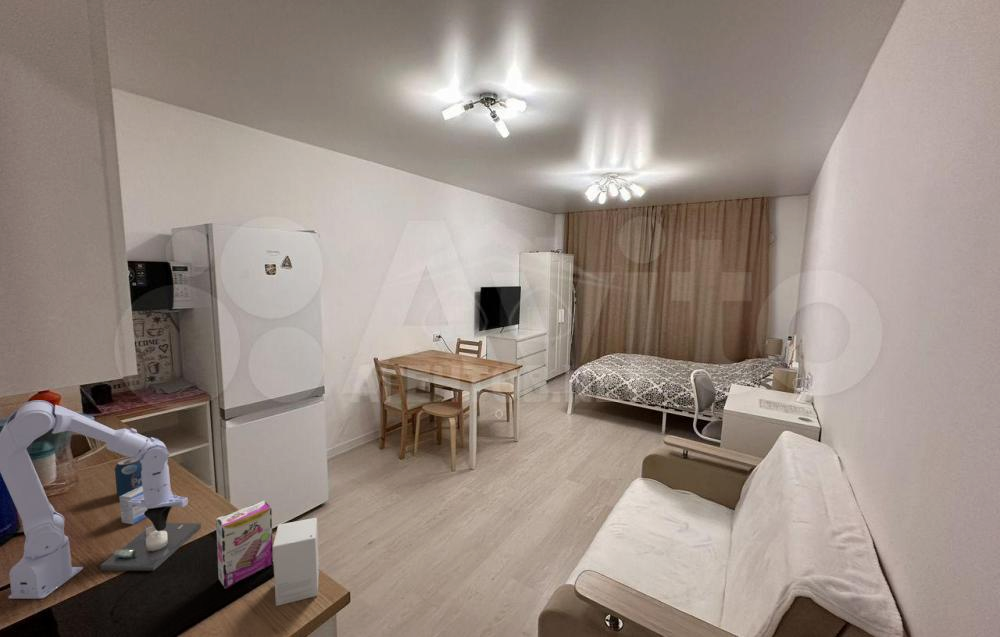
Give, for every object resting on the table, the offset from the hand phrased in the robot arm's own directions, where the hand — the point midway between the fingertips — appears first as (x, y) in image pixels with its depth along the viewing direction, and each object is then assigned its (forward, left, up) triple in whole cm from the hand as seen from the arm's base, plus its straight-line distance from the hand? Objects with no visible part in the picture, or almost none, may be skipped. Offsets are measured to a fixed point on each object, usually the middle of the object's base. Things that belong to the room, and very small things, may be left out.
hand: (161, 530), depth 113 cm
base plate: (-3, 0, -3) cm, 4 cm away
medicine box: (+11, +15, -4) cm, 19 cm away
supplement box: (-17, -45, -4) cm, 48 cm away
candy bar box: (-12, -30, -4) cm, 33 cm away
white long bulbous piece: (-3, 0, -2) cm, 3 cm away
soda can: (+23, +28, -4) cm, 36 cm away
